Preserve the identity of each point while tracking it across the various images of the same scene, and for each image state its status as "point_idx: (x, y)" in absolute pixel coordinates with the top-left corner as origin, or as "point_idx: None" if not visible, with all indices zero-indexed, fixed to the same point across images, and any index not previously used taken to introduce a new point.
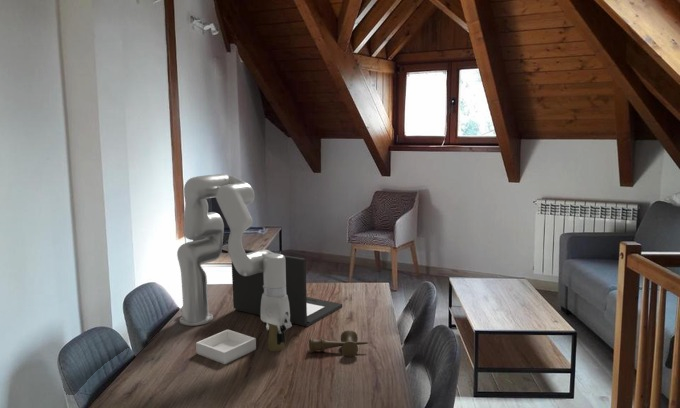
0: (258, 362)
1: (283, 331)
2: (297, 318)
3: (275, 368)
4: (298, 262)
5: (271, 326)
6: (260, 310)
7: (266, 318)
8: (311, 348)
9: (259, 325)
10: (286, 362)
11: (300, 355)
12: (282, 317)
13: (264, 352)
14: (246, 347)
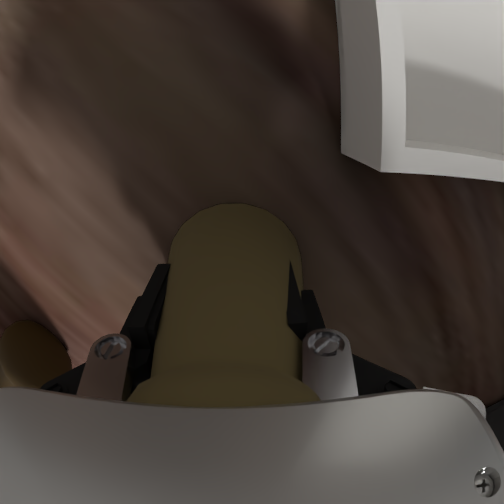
0: (143, 12)
1: (82, 370)
2: None
3: (9, 60)
4: None
5: (189, 373)
6: (500, 419)
7: (317, 490)
8: (4, 331)
9: (478, 371)
10: (14, 156)
11: (39, 275)
12: None
13: (242, 152)
14: (359, 39)
